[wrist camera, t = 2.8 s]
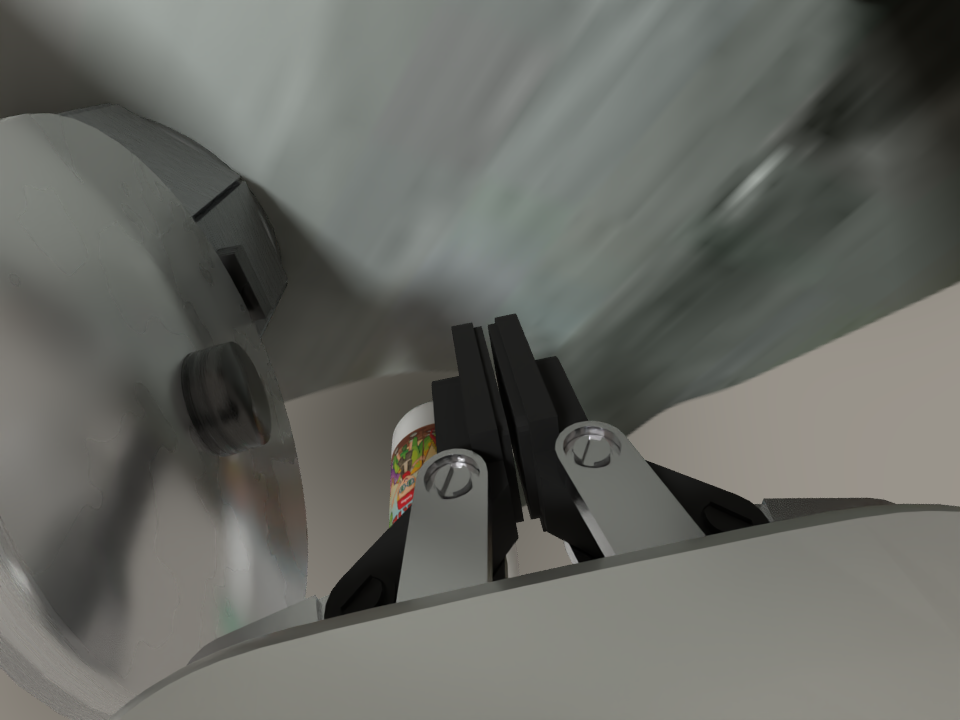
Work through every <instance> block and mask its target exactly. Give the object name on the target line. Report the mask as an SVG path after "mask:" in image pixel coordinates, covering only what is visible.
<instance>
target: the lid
mask: <svg viewBox="0 0 960 720" xmlns="http://www.w3.org/2000/svg"><path fill="white" fill-rule="evenodd" d="M307 568H308V539H307V521H306V509H305V501H304V493H303V485H302V479H301V473H300V467H299V462H298V458H297V453H296V448H295V443H294V439H293V435H292V431H291V427H290V423H289V419H288V416H287V413H286V409H285V405H284V402H283V399H282V396H281V393H280V390H279V386H278V383H277V380H276V378H275V375H274V372H273V369H272V366H271V364H270V361H269V358H268V356H267V353H266V351H265V348H264V346H263V343H262V341H261V338H260V336H259V334H258V332H257V329H256V327H255V325H254V323H253V320H252V318H251V316H250V314H249V312H248V310H247V308H246V306H245V304H244V302H243V299H242V297H241V296H240V294H239V292H238V290H237V288H236V286H235V284H234V282H233V281H232V279H231V277H230V275H229V273H228V272H227V270H226V268H225V266H224V265H223V263H222V261H221V260H220V258H219V256H218V255H217V253H216V252H215V250H214V248H213V247H212V245H211V244H210V242H209V241H208V239H207V238H206V236H205V235H204V233H203V232H202V230H201V229H200V228H199V226H198V225H197V223H196V222H195V221H194V219H193V218H192V216H191V215H190V214H189V213H188V211H187V210H186V209H185V208H184V206H183V205H182V204H181V203H180V201H179V200H178V199H177V198H176V196H175V195H174V194H173V193H172V192H171V191H170V190H169V188H168V187H167V186H166V185H165V184H164V183H163V182H162V181H161V180H160V179H159V177H158V176H157V175H156V174H154V173H153V172H152V171H151V170H150V169H149V168H148V167H147V166H146V165H145V164H144V163H143V162H142V161H141V160H140V159H139V158H137V157H136V156H135V155H134V154H132V153H131V152H130V151H129V150H127V149H126V148H125V147H124V146H122V145H121V144H120V143H119V142H117V141H115V140H114V139H112V138H111V137H109V136H107V135H106V134H104V133H103V132H101V131H99V130H98V129H96V128H94V127H92V126H89V125H87V124H85V123H82V122H80V121H78V120H75V119H73V118H69V117H64V116H60V115H55V114H51V113H38V114H22V115H16V116H11V117H6V118H1V119H0V668H1V669H2V670H3V671H4V672H5V673H6V674H7V675H8V676H9V677H10V678H11V679H12V680H13V681H14V682H15V683H16V684H17V685H18V686H20V687H21V688H23V689H24V690H26V691H27V692H29V693H30V694H31V695H33V696H34V697H36V698H37V699H39V700H40V701H42V702H43V703H45V704H46V705H48V706H49V707H50V708H52V709H53V710H55V711H56V712H58V713H59V714H61V715H62V716H65V717H67V718H70V719H72V720H107V719H108V718H109V717H110V716H112V715H113V714H114V713H115V712H117V711H118V710H119V709H120V708H122V707H123V706H124V705H125V704H127V703H128V702H129V701H130V700H132V699H133V698H135V697H136V696H137V695H139V694H140V693H142V692H143V691H144V690H146V689H147V688H149V687H151V686H152V685H154V684H156V683H157V682H159V681H161V680H162V679H164V678H166V677H167V676H169V675H171V674H172V673H174V672H176V671H177V670H179V669H181V668H183V667H185V666H186V665H187V664H188V662H189V661H190V659H191V658H192V657H193V656H194V655H195V654H196V653H197V652H198V651H199V650H200V649H201V648H202V647H204V646H205V645H207V644H208V643H210V642H212V641H213V640H215V639H217V638H219V637H221V636H223V635H226V634H228V633H230V632H232V631H235V630H237V629H239V628H241V627H244V626H246V625H248V624H250V623H253V622H255V621H257V620H260V619H262V618H264V617H266V616H269V615H271V614H273V613H275V612H278V611H280V610H282V609H284V608H287V607H289V606H291V605H293V604H296V603H298V602H300V601H303V600H305V595H306V584H307Z"/></svg>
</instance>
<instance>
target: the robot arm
mask: <svg viewBox="0 0 960 720" xmlns="http://www.w3.org/2000/svg"><path fill="white" fill-rule="evenodd" d="M488 330H489V336H490V342H491V348H492V353H493V359H494V365H495V371H496V377H497V382H498V387H497V383H496V379H495V375H494V372H493V368H492V364H491V360H490V357H489V353H488V349H487V345H486V342H485V338H484V334H483V330H482V327H481V326H480V327H475V328H473V324H472V323H467V324H462V325H457V326H452V334H453V340H454V346H455V352H456V359H457V365H458V371H459V376H457V377H452V378H447V379H443V380H438V381H433V382H432V396H433V409H434V422H435V435H436V449H437V454H436V455H434V456H432V457H431V458H430V459H428V460H427V461H426V462H425V463H424V464H423V466H422V467H421V468H420V470H419V472H418V475H417V477H416V482H415V488H414V494H413V501H412V505H411V506H410V507H409V508H408V509H407V510H406V511H405V512H404V513H403V514H402V515H401V516H400V517H399V518H398V519H397V520H396V521H395V522H394V523H393V525H392V526H391V527H390V528H389V529H388V530H387V531H386V532H385V533H384V534H383V535H382V536H381V537H380V538H379V539H378V540H377V541H376V542H375V544H374V545H373V546H372V547H371V548H370V549H369V550H368V551H367V552H366V553H365V554H364V555H363V556H362V557H361V558H360V559H359V560H358V561H357V562H356V563H355V565H354V566H353V567H352V568H351V569H350V570H349V571H348V572H347V573H346V574H345V575H344V576H343V577H342V578H341V579H340V580H339V582H338V583H337V584H336V586H335V587H334V588H333V590H332V591H331V593H330V595H328V596H325V597H323V598H321V599H319V600H318V598H317V597H316V595H314V596H312V597H309V598H307V599H305V600H303V601H300V602H298V603H296V604H293V605H291V606H289V607H287V608H284V609H282V610H280V611H278V612H275V613H273V614H271V615H269V616H266V617H264V618H262V619H260V620H257V621H255V622H253V623H250V624H248V625H246V626H244V627H241V628H239V629H237V630H235V631H232V632H230V633H228V634H226V635H223V636H221V637H219V638H217V639H215V640H213V641H212V642H210V643H208V644H207V645H205V646H204V647H202V648H201V649H200V650H199V651H198V652H197V653H196V654H195V655H194V656H193V657H192V658H191V659H190V661H189V662H188V664H187V665H186V666H185V667H183V668H181V669H179V670H177V671H176V672H174V673H172V674H171V675H169V676H167V677H166V678H164V679H162V680H161V681H159V682H157V683H156V684H154V685H152V686H151V687H149V688H147V689H146V690H144V691H143V692H142V693H140V694H139V695H137V696H136V697H135V698H133V699H132V700H130V701H129V702H128V703H127V704H125V705H124V706H123V707H122V708H120V709H119V710H118V711H117V712H115V713H114V714H113V715H112V716H110V717H109V718H108V719H107V720H960V507H958V506H949V505H941V504H895V503H892V502H889V501H886V500H882V499H874V498H796V499H795V498H792V499H791V498H788V499H787V498H785V499H763V502H762V504H753V503H751V502H750V501H748V500H746V499H744V498H742V497H740V496H738V495H736V494H733V493H731V492H728V491H726V490H723V489H720V488H717V487H715V486H712V485H710V484H707V483H704V482H702V481H699V480H696V479H694V478H691V477H689V476H686V475H683V474H681V473H678V472H675V471H673V470H670V469H667V468H665V467H662V466H660V465H657V464H654V463H651V462H649V461H646V460H644V458H643V457H642V456H641V455H640V454H639V452H638V451H637V450H636V449H635V447H634V446H633V445H632V444H631V442H630V441H629V440H628V439H627V437H626V436H625V435H624V434H623V433H622V432H621V431H620V430H619V429H618V428H616V427H614V426H612V425H610V424H607V423H603V422H599V421H588V419H587V417H586V415H585V413H584V411H583V409H582V407H581V405H580V403H579V401H578V399H577V397H576V395H575V392H574V390H573V388H572V386H571V384H570V382H569V380H568V378H567V376H566V374H565V372H564V370H563V368H562V365H561V363H560V361H559V359H558V358H557V357H556V356H554V357H549V358H544V359H539V360H535V359H534V357H533V354H532V352H531V349H530V347H529V344H528V342H527V340H526V337H525V335H524V332H523V330H522V327H521V325H520V322H519V320H518V317H517V315H516V314H511V315H506V316H501V317H496V318H495V324H490V325H488ZM498 388H499V390H498ZM511 445H512V447H511ZM512 449H513V453H514V457H515V461H516V464H517V468H518V472H519V476H520V480H521V484H522V487H523V491H524V495H525V499H526V503H527V506H528V510H529V514H530V517H531V519H536V518H540V521H541V525H542V528H543V531H544V532H545V531H547V532H549V533H551V534H552V535H554V536H556V537H558V538H560V539H562V540H564V545H565V549H566V551H567V554H568V556H569V558H570V560H571V562H572V565H567V566H562V567H558V568H553V569H549V570H544V571H539V572H535V573H530V574H526V575H521V576H516V577H512V578H508V563H507V558H506V555H507V553H508V552H509V551H510V549H511V548H512V546H513V545H514V544H515V542H516V541H517V539H518V532H517V527H516V523H517V522H522V521H524V519H523V513H522V507H521V501H520V495H519V489H518V483H517V477H516V471H515V465H514V459H513V453H512Z"/></svg>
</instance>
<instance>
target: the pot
mask: <svg viewBox="0 0 960 720" xmlns="http://www.w3.org/2000/svg"><path fill="white" fill-rule="evenodd" d="M55 115H60V116H64V117H69V118H73V119H75V120H78V121H80V122H82V123H85V124H87V125H89V126H92V127H94V128H96V129H98V130H99V131H101V132H103V133H104V134H106V135H107V136H109V137H111V138H112V139H114V140H115V141H117V142H119V143H120V144H121V145H122V146H124V147H125V148H126V149H127V150H129V151H130V152H131V153H132V154H134V155H135V156H136V157H137V158H139V159H140V160H141V161H142V162H143V163H144V164H145V165H146V166H147V167H148V168H149V169H150V170H151V171H152V172H153V173H154V174H156V175H157V176H158V177H159V179H160V180H161V181H162V182H163V183H164V184H165V185H166V186H167V187H168V188H169V190H170V191H171V192H172V193H173V194H174V195H175V196H176V198H177V199H178V200H179V201H180V203H181V204H182V205H183V206H184V208H185V209H186V210H187V211H188V213H189V214H190V215H191V216H192V218H193V219H194V221H195V222H196V223H197V225H198V226H199V228H200V229H201V230H202V232H203V233H204V235H205V236H206V238H207V239H208V241H209V242H210V244H211V245H212V247H213V248H214V250H215V252H216V253H217V255H218V256H219V258H220V260H221V261H222V263H223V265H224V266H225V268H226V270H227V272H228V273H229V275H230V277H231V279H232V281H233V282H234V284H235V286H236V288H237V290H238V292H239V294H240V296H241V297H242V299H243V302H244V304H245V306H246V308H247V310H248V312H249V314H250V316H251V318H252V320H253V323H254V325H255V327H256V329H257V332H258V334H259V336H260V338H261V337H262V335H263V333H264V331H265V329H266V327H267V325H268V322H269V320H270V318H271V316H272V314H273V312H274V310H275V308H276V306H277V304H278V302H279V300H280V298H281V296H282V294H283V292H284V290H285V288H286V286H287V284H288V283H286V281H287V276H286V274H285V272H284V269H283V267H282V265H281V256H280V252H279V247H278V242H277V239H276V237H275V234H274V231H273V228H272V226H271V224H270V222H269V220H268V218H267V216H266V214H265V212H264V210H263V208H262V207H261V205H260V204H259V202H258V201H257V199H256V198H255V196H254V195H253V193H252V192H251V191H250V190H249V189H248V186H247V184H246V182H245V181H242V180H241V179H240V177H241V176H240V175H238V174H236V173H235V172H233V171H232V170H231V169H230V168H229V167H228V166H227V165H226V164H225V163H223V162H222V161H221V160H220V159H219V158H217V157H216V156H215V155H214V154H212V153H211V152H210V151H209V150H207V149H206V148H204V147H203V146H201V145H199V144H198V143H196V142H195V141H193V140H192V139H190V138H188V137H187V136H185V135H183V134H181V133H179V132H177V131H175V130H173V129H171V128H169V127H167V126H164V125H162V124H159V123H157V122H154V121H151V120H149V119H145V118H142V117H138V116H137V115H135V114H133V113H132V112H130V111H128V110H126V109H125V108H123V107H121V106H120V105H118V104H117V105H112V104H111V103H107V104H102V105H97V106H91V107H86V108H81V109H76V110H71V111H65V112H60V113H55Z"/></svg>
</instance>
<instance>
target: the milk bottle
mask: <svg viewBox="0 0 960 720" xmlns="http://www.w3.org/2000/svg"><path fill="white" fill-rule="evenodd" d="M436 454H437V449H436V435H435V422H434V409H433V401H429V402H427V403H423V404H420V405H419V406H417V407H415V408H413V409H412V410H410V411H409V412H408V413H406V414H405V416H404V417H403V418H402V419H401V420H400V421H399V423H398V425H397V426H396V428H395V430H394V433H393V441H392V458H391V485H390V486H391V488H390V520H389V521H390V522H389V528H390V527H391V526H392V525H393V523H394V522H395V521H396V520H397V519H398V518H399V517H400V516H401V515H402V514H403V513H404V512H405V511H406V510H407V509H408V508H409V507H410V506H411V505H412V501H413V494H414V488H415V482H416V477H417V475H418V472H419V470H420V468H421V467H422V466H423V464H424V463H425V462H426V461H427V460H428V459H430V458H431V457H432V456H434V455H436ZM506 558H507V563H508V578H512V577H516V576H519V563H518V554H517V548H516V542H515V544H514V545H513V546H512V548H511V549H510V551H509V552H508V553H507V555H506Z"/></svg>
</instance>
